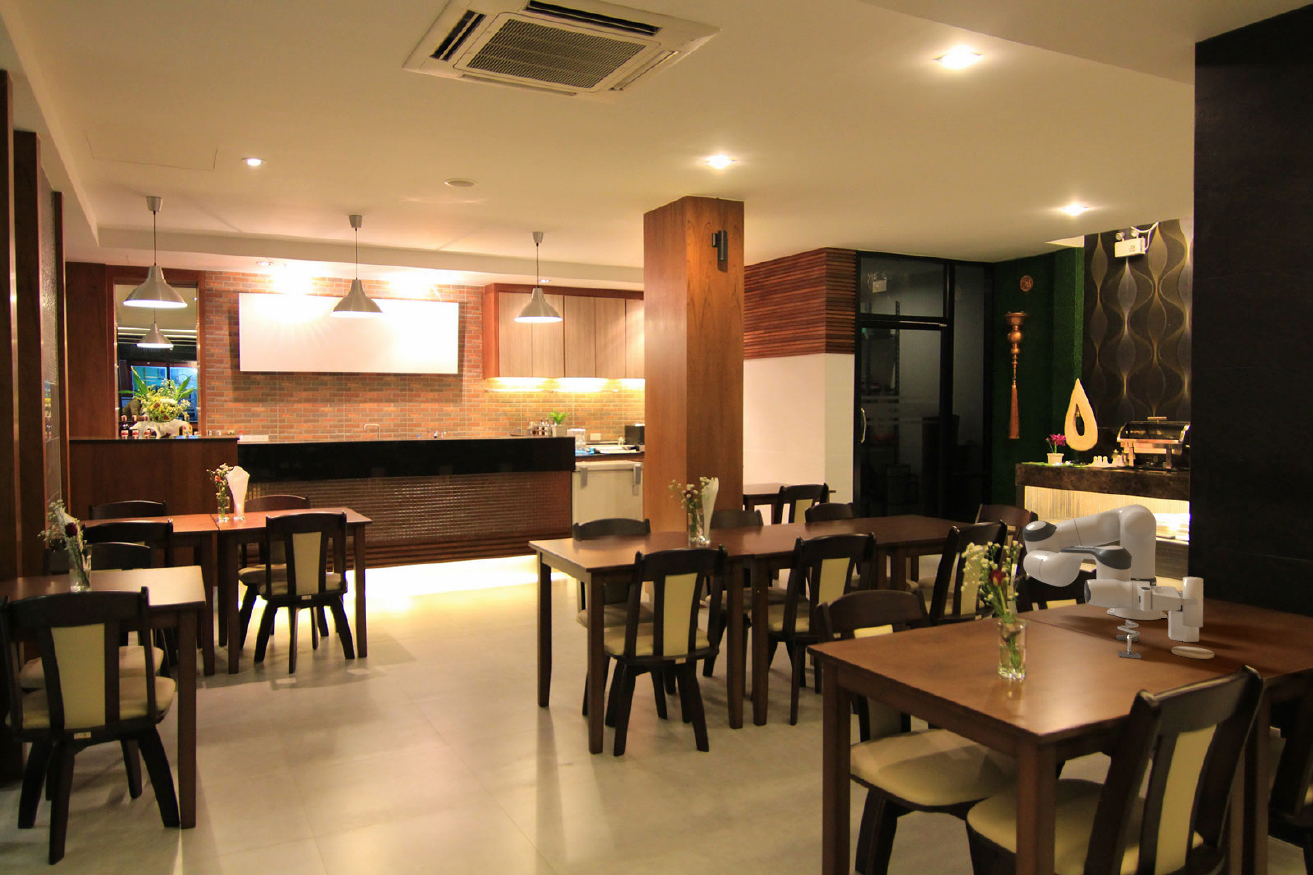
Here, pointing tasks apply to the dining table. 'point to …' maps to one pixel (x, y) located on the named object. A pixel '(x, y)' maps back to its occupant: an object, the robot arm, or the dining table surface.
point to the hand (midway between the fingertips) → (1196, 599)
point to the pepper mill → (1193, 612)
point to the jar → (1181, 628)
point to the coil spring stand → (1129, 639)
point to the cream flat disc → (1192, 652)
